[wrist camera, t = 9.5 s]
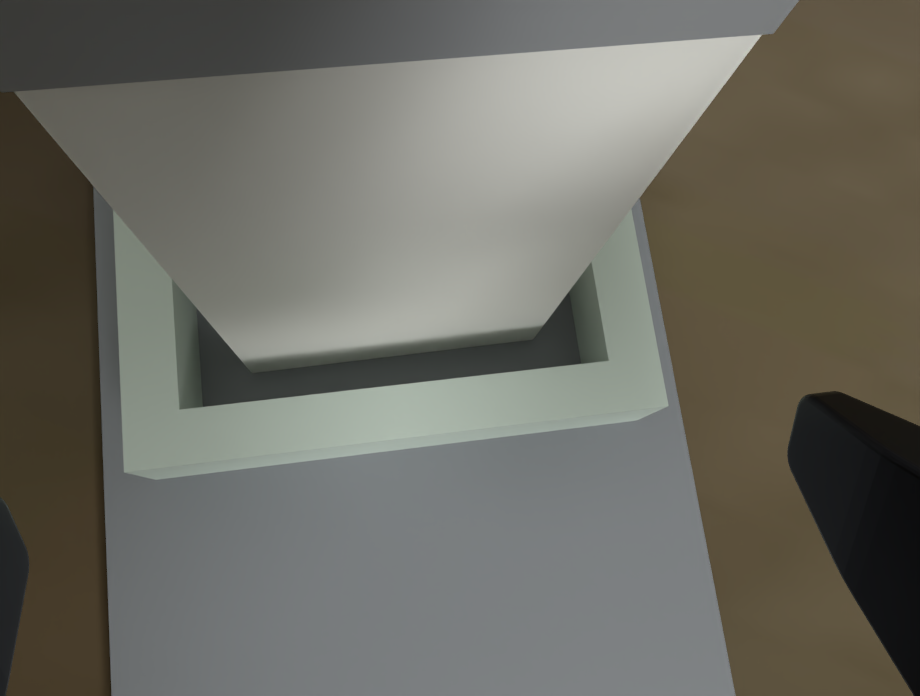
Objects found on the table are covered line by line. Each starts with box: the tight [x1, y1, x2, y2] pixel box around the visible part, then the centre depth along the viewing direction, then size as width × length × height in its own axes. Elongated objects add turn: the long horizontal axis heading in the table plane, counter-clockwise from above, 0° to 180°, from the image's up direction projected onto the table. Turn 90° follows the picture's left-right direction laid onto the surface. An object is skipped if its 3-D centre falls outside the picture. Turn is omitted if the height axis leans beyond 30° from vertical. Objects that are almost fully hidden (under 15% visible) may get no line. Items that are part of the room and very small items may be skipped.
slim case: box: [0, 0, 799, 373], centre depth 11 cm, size 6×4×12 cm
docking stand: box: [93, 186, 735, 696], centre depth 16 cm, size 18×12×3 cm, turn 7°
